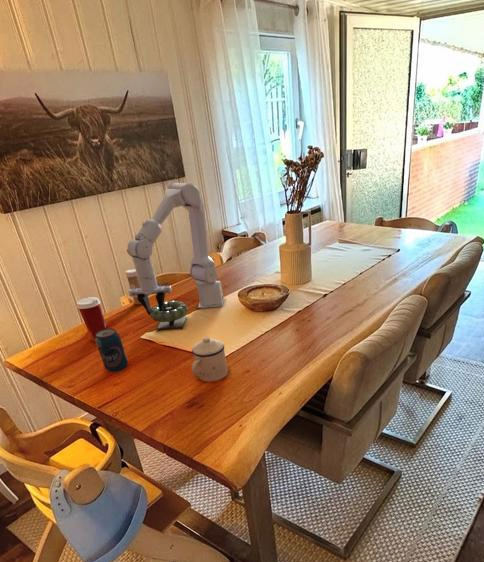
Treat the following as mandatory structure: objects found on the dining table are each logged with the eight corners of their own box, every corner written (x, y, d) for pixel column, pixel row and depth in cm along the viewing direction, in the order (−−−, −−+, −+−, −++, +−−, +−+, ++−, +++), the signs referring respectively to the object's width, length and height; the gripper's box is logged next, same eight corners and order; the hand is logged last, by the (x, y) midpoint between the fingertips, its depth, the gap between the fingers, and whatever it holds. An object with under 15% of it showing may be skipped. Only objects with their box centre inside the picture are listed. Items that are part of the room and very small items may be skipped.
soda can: (106, 375, 129) (93, 339, 122) (105, 365, 134) (92, 330, 128) (130, 369, 131) (118, 333, 124) (127, 360, 136) (116, 325, 130)
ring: (190, 307, 160) (189, 298, 158) (185, 321, 149) (183, 312, 147) (155, 310, 161) (153, 301, 159) (147, 325, 150) (145, 315, 148)
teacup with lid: (211, 364, 130) (204, 328, 124) (235, 370, 126) (229, 334, 119) (184, 383, 122) (175, 346, 115) (208, 390, 118) (200, 353, 111)
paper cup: (116, 334, 154) (104, 296, 146) (102, 344, 148) (88, 305, 140) (98, 332, 156) (85, 295, 148) (84, 342, 150) (69, 304, 142)
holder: (186, 318, 161) (183, 302, 157) (182, 329, 153) (178, 311, 149) (162, 320, 161) (158, 304, 157) (157, 331, 153) (153, 314, 150)
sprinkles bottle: (147, 302, 178) (138, 270, 170) (136, 305, 176) (127, 273, 168) (143, 299, 181) (134, 268, 173) (132, 302, 179) (123, 270, 172)
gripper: (122, 281, 143) (133, 319, 151) (165, 278, 143) (174, 316, 151) (127, 275, 149) (138, 311, 157) (169, 271, 149) (177, 308, 157)
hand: (156, 313), depth 154 cm, fingers closed on ring, 4 cm apart
